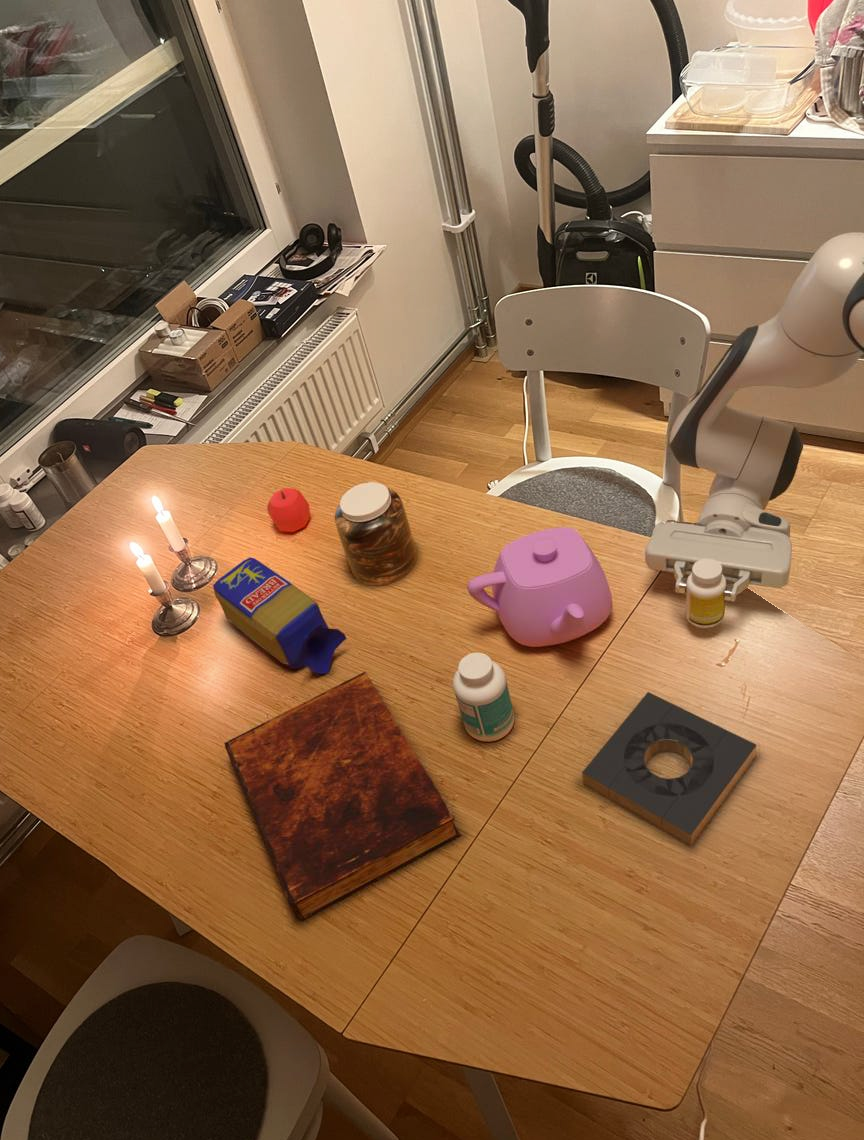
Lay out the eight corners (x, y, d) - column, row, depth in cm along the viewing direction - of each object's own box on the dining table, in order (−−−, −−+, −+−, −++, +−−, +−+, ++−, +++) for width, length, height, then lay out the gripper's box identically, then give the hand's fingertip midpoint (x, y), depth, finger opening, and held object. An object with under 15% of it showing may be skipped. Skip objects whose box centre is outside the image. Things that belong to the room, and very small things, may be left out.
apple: (314, 506, 176) (302, 473, 170) (314, 533, 171) (302, 501, 165) (275, 514, 177) (261, 482, 171) (273, 542, 172) (260, 510, 166)
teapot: (464, 601, 151) (449, 534, 140) (587, 563, 150) (581, 493, 139) (504, 705, 135) (490, 639, 124) (641, 663, 135) (639, 593, 124)
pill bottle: (516, 702, 135) (505, 644, 125) (513, 744, 130) (500, 686, 121) (467, 702, 137) (451, 644, 127) (461, 743, 132) (445, 687, 123)
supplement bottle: (730, 623, 132) (734, 576, 125) (694, 633, 133) (695, 587, 126) (715, 597, 136) (717, 550, 129) (679, 607, 136) (680, 561, 129)
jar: (365, 537, 167) (344, 473, 156) (425, 541, 162) (408, 476, 151) (343, 584, 160) (319, 520, 149) (404, 589, 156) (385, 525, 145)
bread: (268, 588, 164) (249, 546, 156) (355, 652, 149) (339, 610, 141) (224, 622, 160) (202, 582, 153) (309, 692, 146) (289, 650, 138)
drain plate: (755, 757, 121) (756, 744, 118) (690, 846, 115) (691, 834, 112) (648, 704, 130) (648, 691, 127) (583, 784, 124) (581, 772, 121)
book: (234, 761, 140) (223, 743, 136) (374, 690, 143) (366, 670, 139) (301, 922, 120) (289, 905, 116) (461, 836, 123) (455, 817, 119)
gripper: (657, 504, 139) (631, 567, 132) (801, 521, 130) (782, 590, 123) (658, 534, 144) (632, 596, 137) (797, 553, 135) (778, 621, 128)
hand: (704, 594), depth 130 cm, fingers closed on supplement bottle, 5 cm apart
